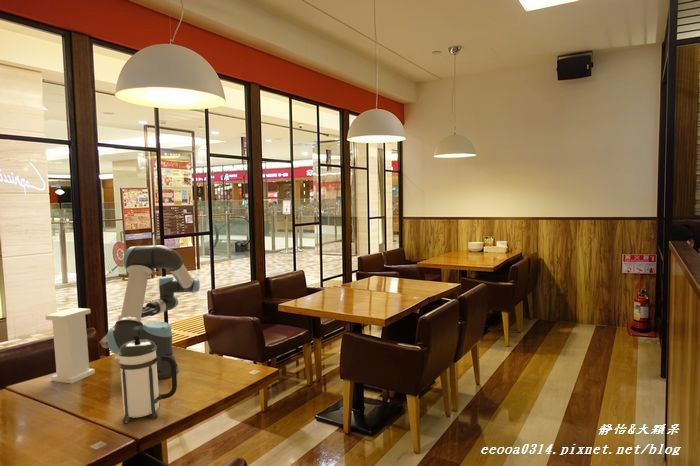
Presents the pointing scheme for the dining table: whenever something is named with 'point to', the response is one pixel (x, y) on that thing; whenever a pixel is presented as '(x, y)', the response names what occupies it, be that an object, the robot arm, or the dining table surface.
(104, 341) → the walnut bar
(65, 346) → the white pedestal
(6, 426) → the dining table surface
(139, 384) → the coffee press
